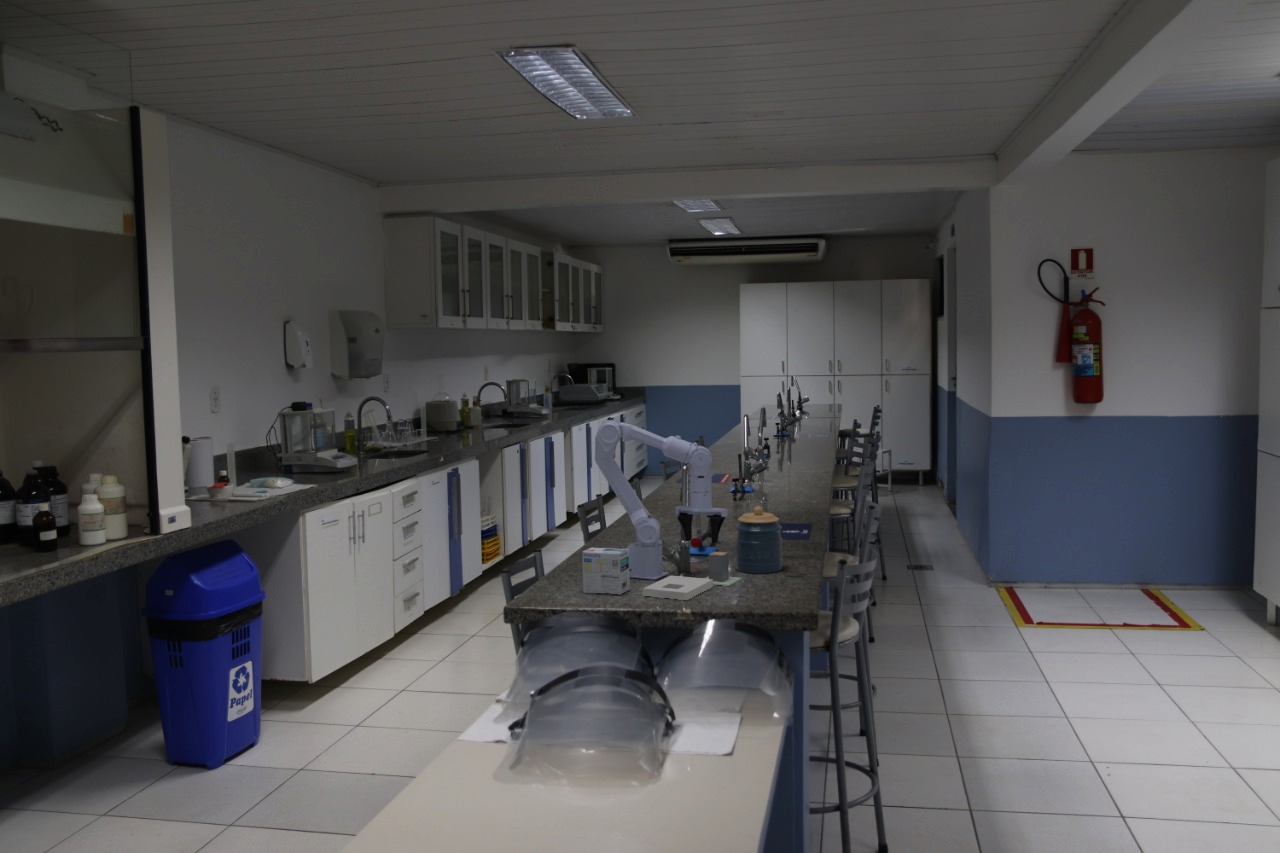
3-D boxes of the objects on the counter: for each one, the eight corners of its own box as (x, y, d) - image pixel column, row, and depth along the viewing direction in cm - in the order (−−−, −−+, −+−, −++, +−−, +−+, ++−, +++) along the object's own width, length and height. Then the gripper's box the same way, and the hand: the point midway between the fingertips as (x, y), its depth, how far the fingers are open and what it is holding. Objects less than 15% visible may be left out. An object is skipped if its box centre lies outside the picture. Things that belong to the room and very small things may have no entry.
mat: (696, 583, 264) (696, 581, 264) (710, 576, 272) (710, 574, 272) (728, 586, 260) (728, 584, 260) (741, 579, 268) (741, 577, 268)
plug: (708, 580, 265) (708, 554, 264) (714, 577, 268) (714, 551, 268) (722, 582, 263) (722, 555, 262) (728, 579, 266) (728, 552, 266)
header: (643, 596, 251) (642, 588, 251) (671, 582, 265) (671, 575, 265) (686, 600, 246) (686, 592, 245) (713, 587, 260) (713, 579, 260)
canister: (731, 573, 276) (730, 509, 275) (740, 563, 288) (739, 502, 287) (778, 575, 272) (777, 510, 271) (785, 565, 285) (785, 503, 283)
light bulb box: (630, 589, 258) (630, 548, 258) (621, 595, 252) (620, 553, 251) (592, 587, 262) (591, 546, 261) (582, 593, 256) (581, 551, 255)
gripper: (670, 492, 271) (671, 542, 272) (720, 494, 265) (720, 545, 266) (681, 488, 278) (682, 537, 278) (730, 491, 271) (730, 541, 272)
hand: (701, 541), depth 272 cm, fingers open, 7 cm apart
